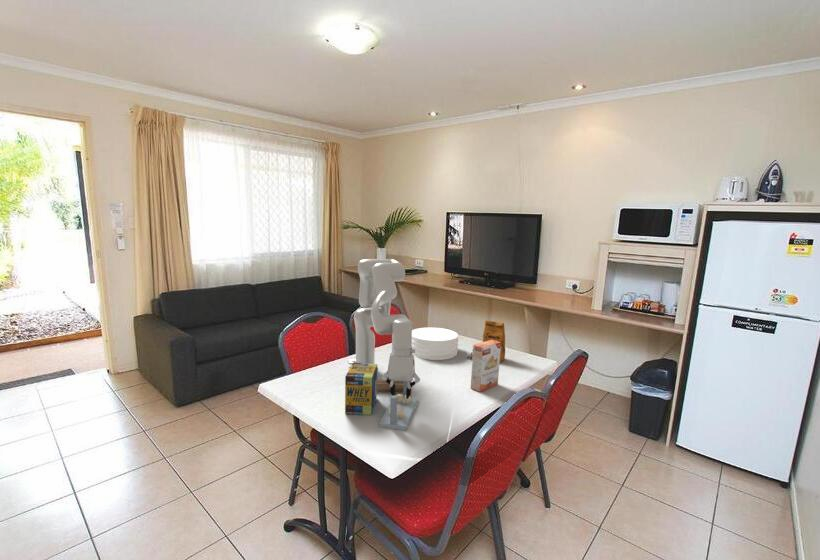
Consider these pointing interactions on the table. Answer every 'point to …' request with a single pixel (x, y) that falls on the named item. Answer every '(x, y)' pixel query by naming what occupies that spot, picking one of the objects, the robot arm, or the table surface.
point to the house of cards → (470, 356)
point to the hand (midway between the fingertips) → (400, 396)
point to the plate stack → (434, 343)
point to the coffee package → (495, 335)
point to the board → (384, 386)
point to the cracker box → (485, 365)
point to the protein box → (360, 389)
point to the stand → (399, 411)
